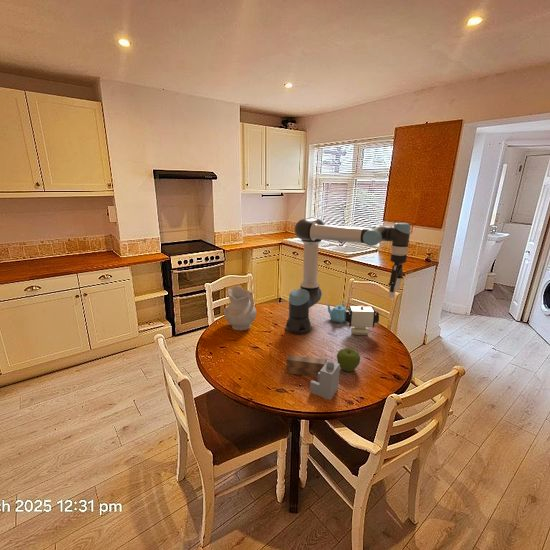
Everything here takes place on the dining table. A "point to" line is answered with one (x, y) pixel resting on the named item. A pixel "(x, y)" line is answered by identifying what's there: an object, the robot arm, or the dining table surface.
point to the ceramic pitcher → (240, 308)
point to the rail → (304, 365)
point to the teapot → (337, 313)
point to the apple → (348, 359)
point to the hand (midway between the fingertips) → (394, 293)
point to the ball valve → (361, 319)
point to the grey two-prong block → (326, 381)
